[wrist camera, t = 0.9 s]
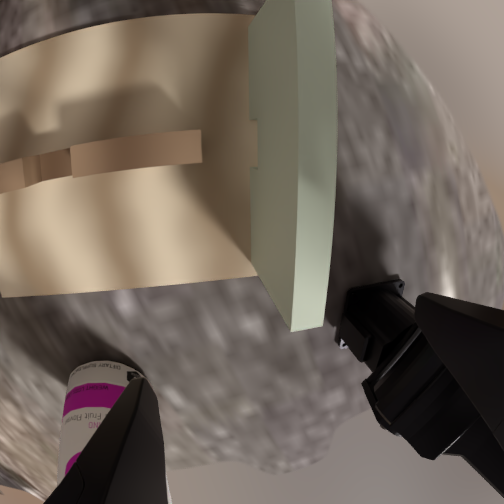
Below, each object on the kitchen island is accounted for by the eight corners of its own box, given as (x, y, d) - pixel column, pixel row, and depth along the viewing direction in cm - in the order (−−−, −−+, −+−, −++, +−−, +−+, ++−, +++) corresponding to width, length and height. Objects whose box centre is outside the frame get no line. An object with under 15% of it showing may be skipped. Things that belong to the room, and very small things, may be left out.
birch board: (298, 25, 16) (303, 21, 15) (297, 264, 22) (302, 270, 21) (-18, 71, 11) (-25, 70, 10) (7, 291, 17) (2, 297, 16)
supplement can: (69, 345, 20) (47, 520, 6) (162, 365, 23) (195, 534, 10) (70, 402, 22) (65, 539, 9) (147, 416, 25) (170, 550, 12)
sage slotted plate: (248, 26, 14) (292, -34, 7) (272, 29, 15) (328, -26, 7) (251, 263, 20) (290, 332, 13) (273, 260, 21) (322, 325, 13)
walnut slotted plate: (196, 132, 16) (200, 129, 13) (197, 158, 17) (202, 162, 13) (-18, 172, 13) (-51, 182, 9) (-15, 193, 14) (-47, 207, 10)
